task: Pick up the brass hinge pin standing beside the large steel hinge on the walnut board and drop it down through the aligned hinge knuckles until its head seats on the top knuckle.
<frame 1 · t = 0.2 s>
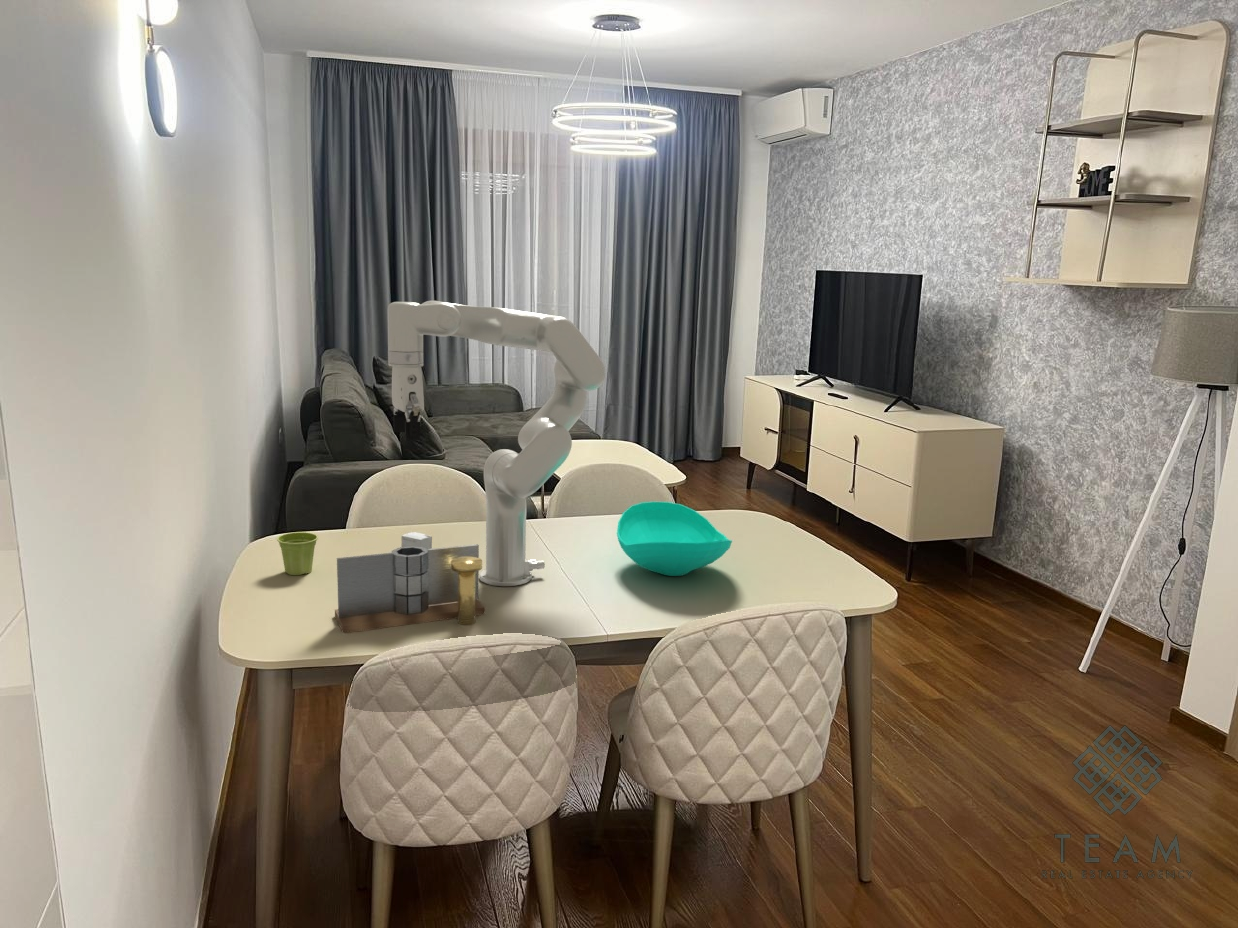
hand: (406, 435, 210), 36 cm above the table, tool pointing down, fingers open, 9 cm apart
hinge pin: (466, 621, 200), on the table
plant pot: (298, 572, 228), on the table
skincare box: (416, 585, 222), on the table
swing leaf: (436, 576, 203), point 8 cm above the table, hinge at 0.0°, touching hinge frame
hinge frame: (410, 608, 202), resting on base board
table top decor: (671, 572, 238), on the table
base board: (410, 615, 203), on the table
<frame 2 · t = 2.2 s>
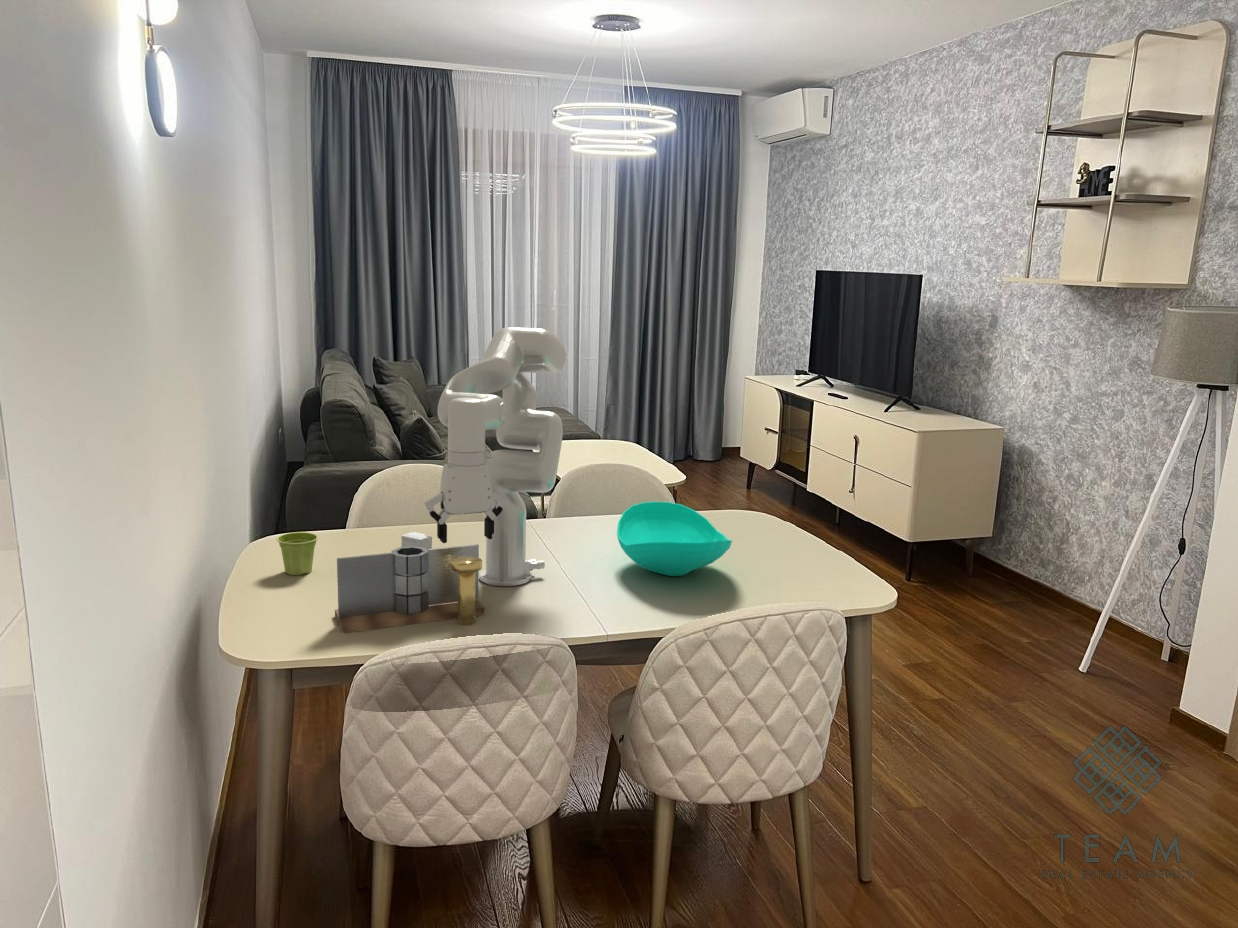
hand: (465, 539, 196), 18 cm above the table, tool pointing down, fingers open, 9 cm apart
nothing on the table moved.
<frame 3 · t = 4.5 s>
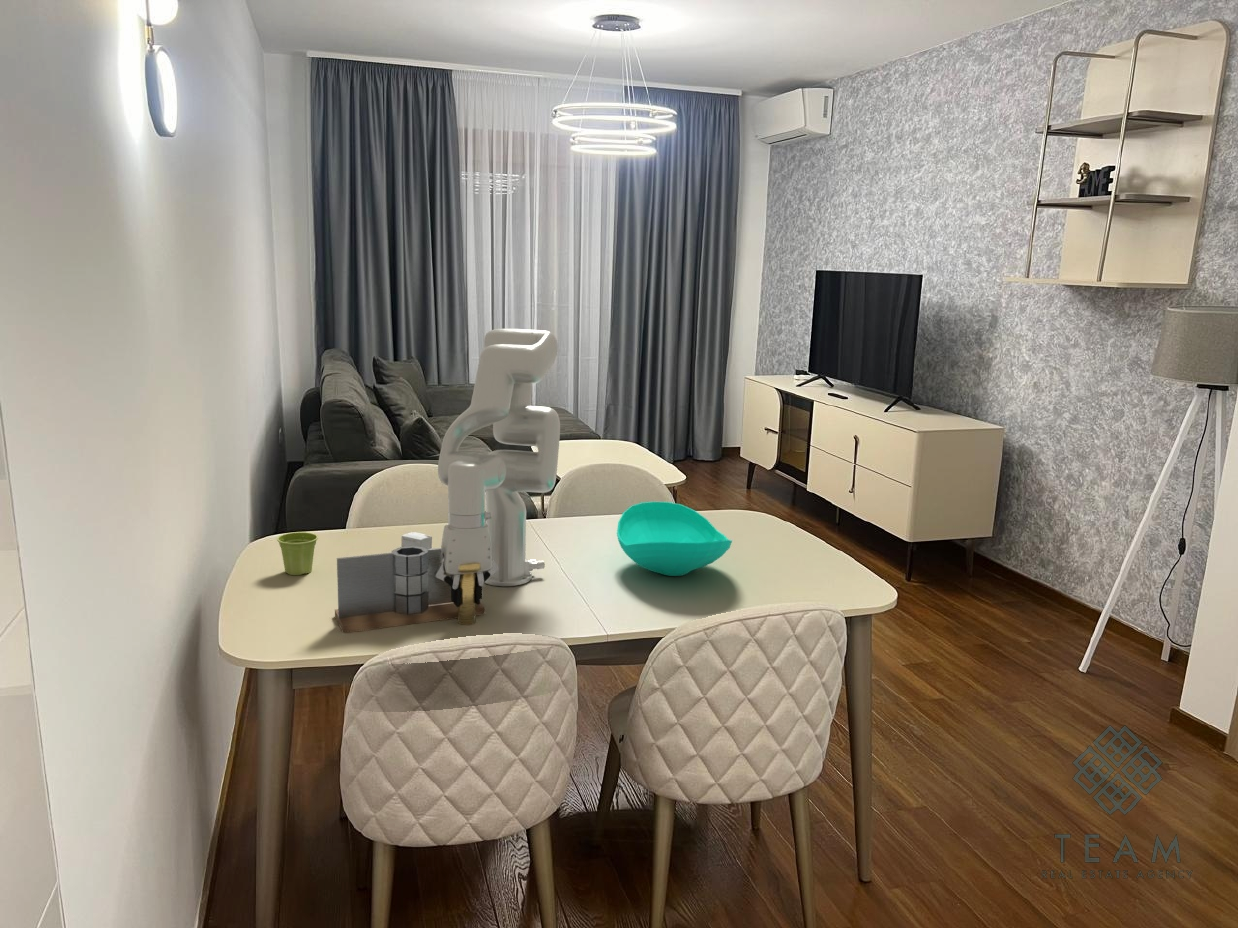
hand: (466, 602, 199), 4 cm above the table, tool pointing down, fingers closed on hinge pin, 3 cm apart
hinge pin: (466, 621, 200), on the table, touching gripper
everything else where it was.
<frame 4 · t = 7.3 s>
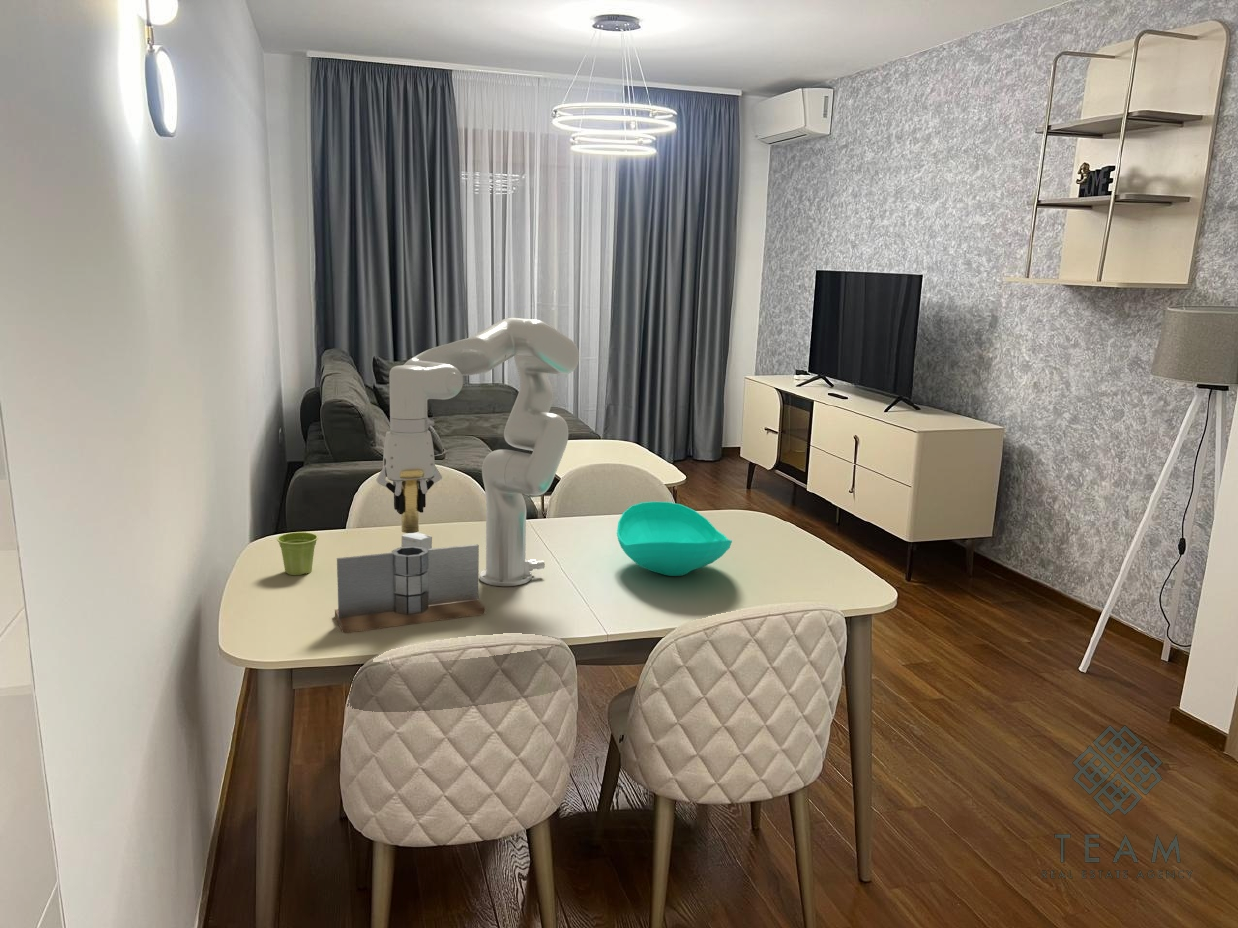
hand: (409, 511, 198), 23 cm above the table, tool pointing down, fingers closed on hinge pin, 3 cm apart
hinge pin: (410, 530, 199), point 19 cm above the table, touching gripper
everything else where it was.
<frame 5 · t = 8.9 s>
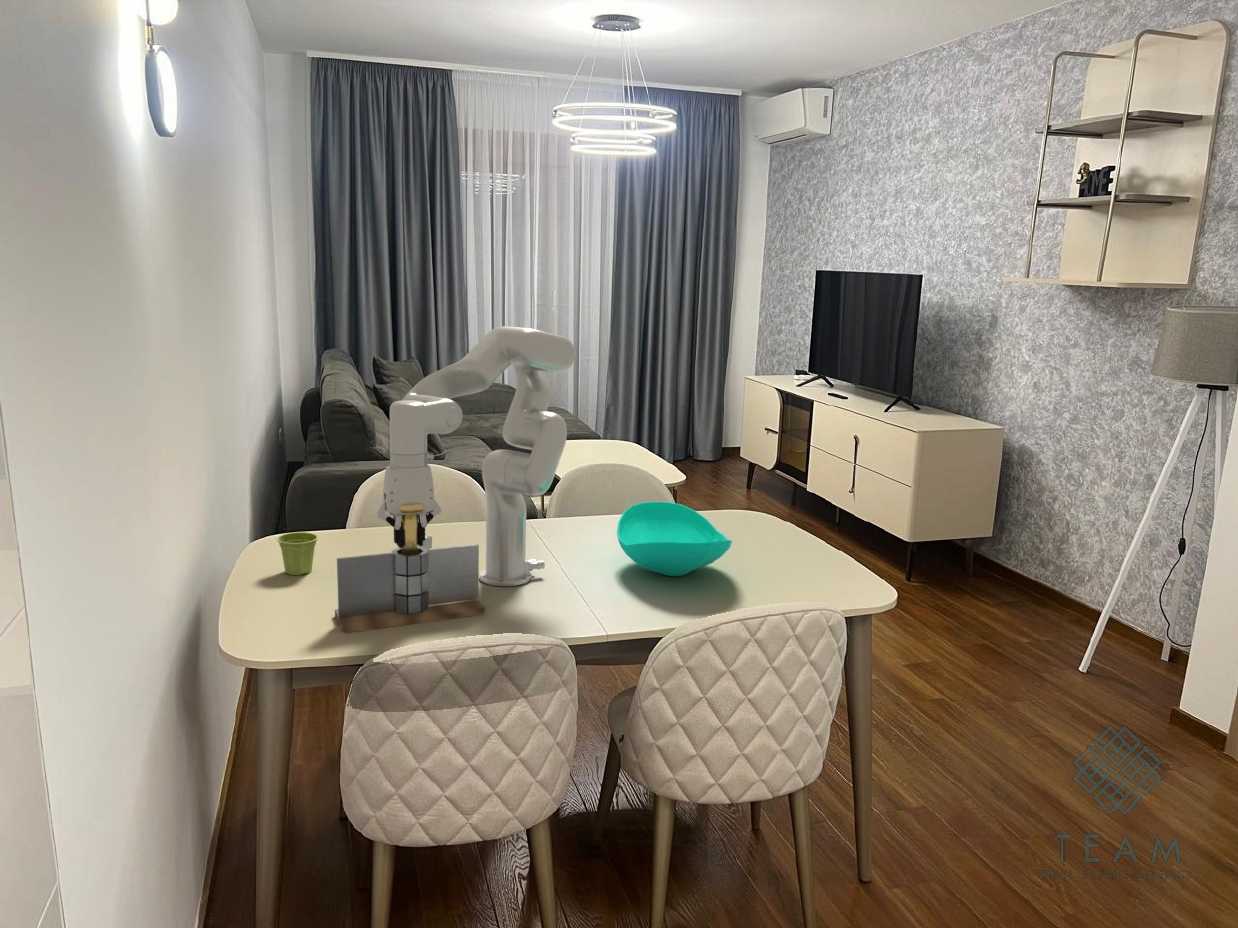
hand: (409, 544, 199), 16 cm above the table, tool pointing down, fingers closed on hinge pin, 3 cm apart
hinge pin: (409, 563, 200), point 12 cm above the table, touching gripper
everything else where it was.
when the fingers open (15 cm above the table, at t = 10.0 s): hinge pin drops 3 cm, point 8 cm above the table.
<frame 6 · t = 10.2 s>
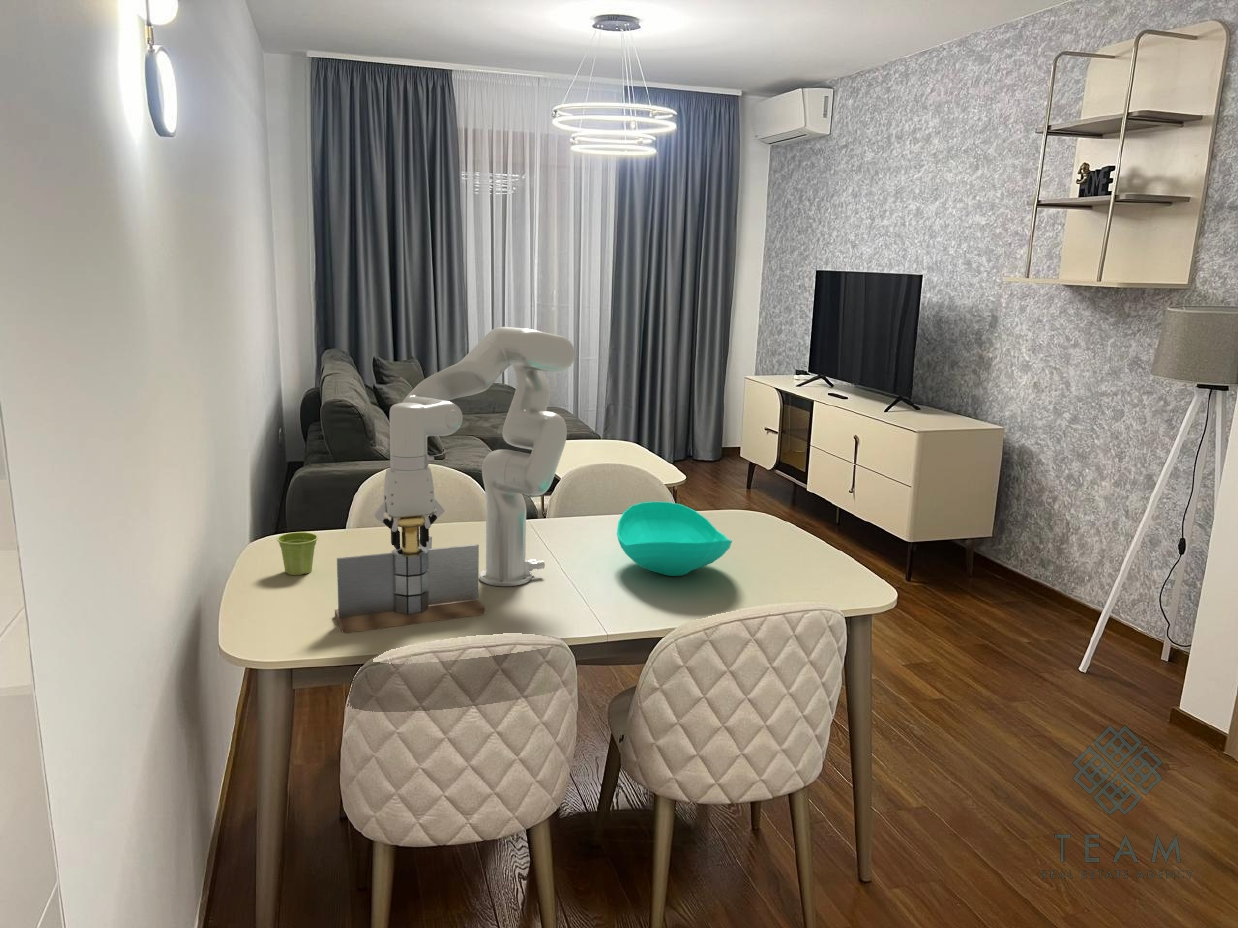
hand: (410, 545, 200), 16 cm above the table, tool pointing down, fingers open, 5 cm apart
hinge pin: (411, 577, 201), point 8 cm above the table, touching gripper
everything else where it was.
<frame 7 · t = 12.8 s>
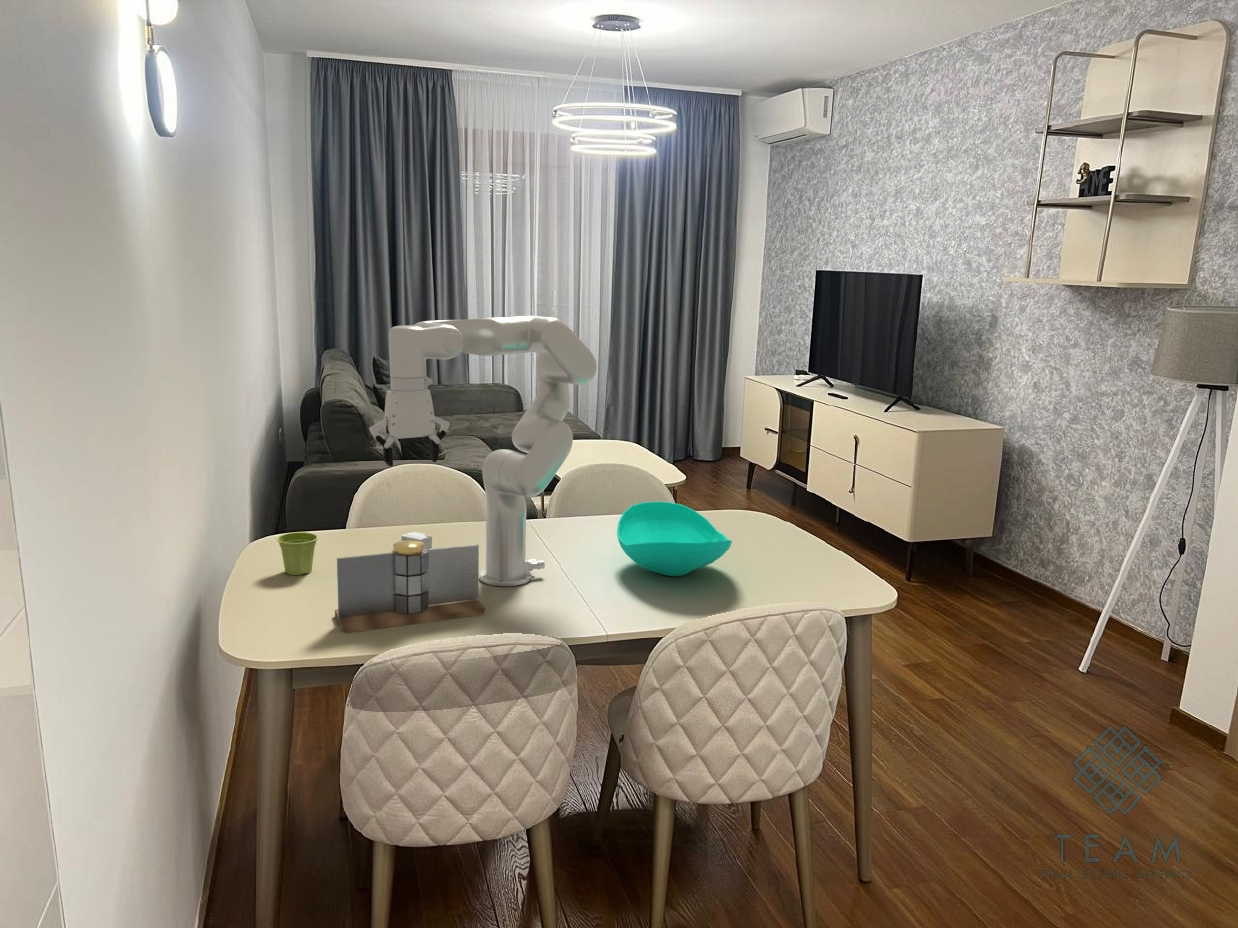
hand: (411, 462, 204), 32 cm above the table, tool pointing down, fingers open, 9 cm apart
hinge pin: (409, 605, 202), point 2 cm above the table, touching hinge frame
everything else where it was.
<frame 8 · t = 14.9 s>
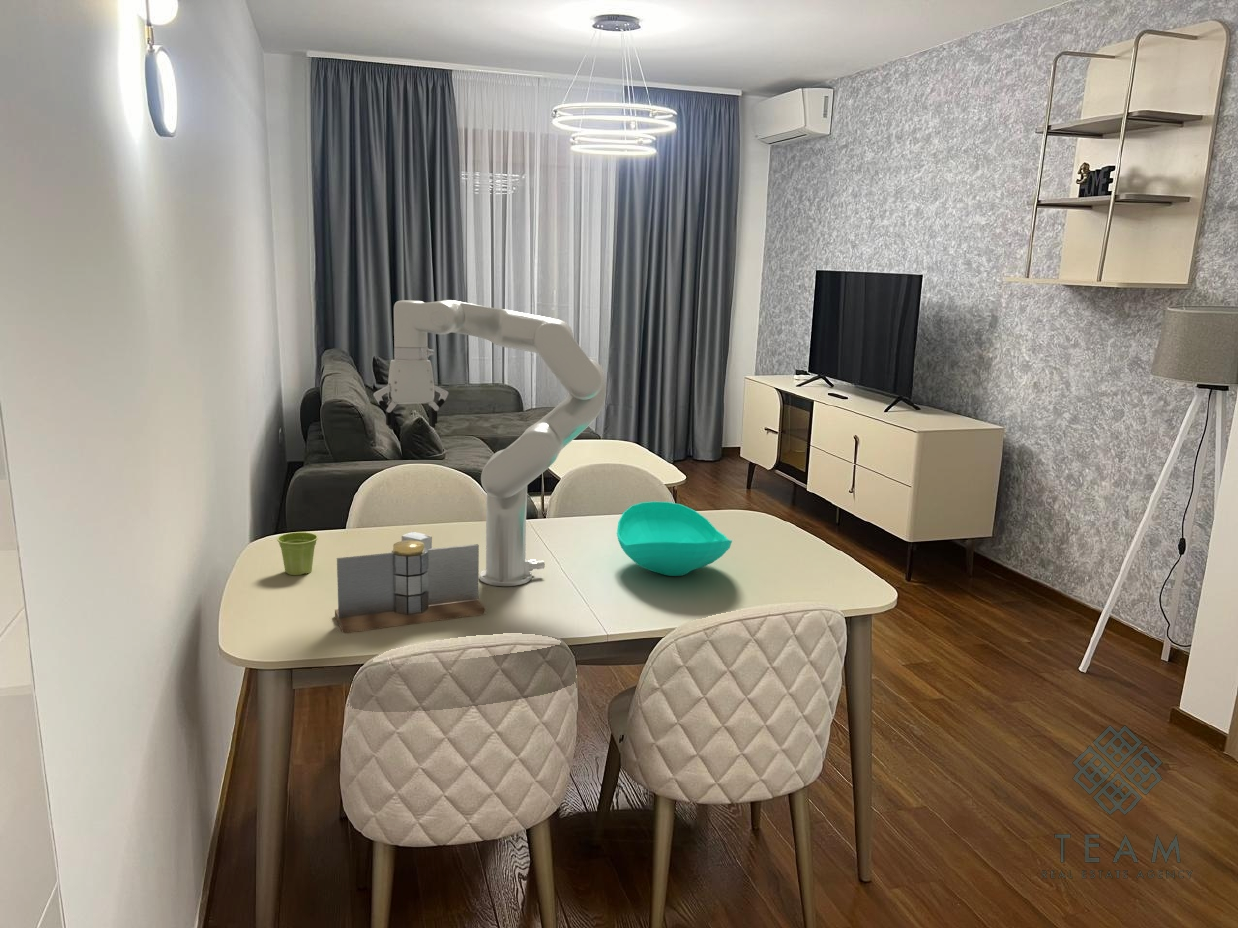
hand: (411, 427, 221), 36 cm above the table, tool pointing down, fingers open, 9 cm apart
nothing on the table moved.
at the end: hinge pin 0.2 cm off-centre on the hinge frame, point 0.8 cm above the hinge frame's base; hinge pin tilted 0°; the gripper is holding nothing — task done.
